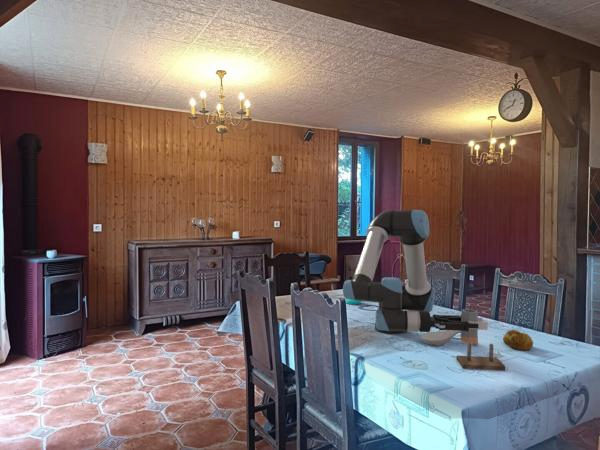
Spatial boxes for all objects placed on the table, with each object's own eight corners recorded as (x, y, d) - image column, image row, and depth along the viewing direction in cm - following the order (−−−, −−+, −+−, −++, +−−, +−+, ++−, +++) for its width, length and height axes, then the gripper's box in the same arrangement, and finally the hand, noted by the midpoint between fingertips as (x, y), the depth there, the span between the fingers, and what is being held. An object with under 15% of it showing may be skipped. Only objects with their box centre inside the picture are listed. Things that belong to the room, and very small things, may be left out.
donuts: (363, 288, 267) (347, 289, 266) (363, 304, 268) (347, 305, 267) (359, 286, 277) (344, 286, 276) (359, 301, 278) (344, 301, 276)
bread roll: (497, 343, 190) (497, 325, 189) (517, 342, 191) (517, 324, 191) (516, 352, 177) (517, 333, 177) (537, 351, 178) (538, 332, 178)
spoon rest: (425, 348, 182) (425, 331, 182) (418, 340, 194) (418, 324, 194) (481, 349, 181) (481, 332, 181) (471, 340, 193) (471, 325, 193)
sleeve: (463, 342, 152) (463, 312, 152) (459, 338, 157) (459, 308, 157) (479, 343, 151) (479, 312, 151) (474, 339, 157) (475, 309, 156)
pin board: (462, 368, 158) (463, 346, 158) (456, 359, 168) (456, 338, 168) (505, 370, 156) (505, 348, 156) (496, 361, 166) (496, 340, 166)
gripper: (414, 325, 166) (477, 327, 163) (422, 338, 148) (492, 341, 145) (414, 305, 165) (477, 307, 163) (422, 317, 147) (493, 319, 145)
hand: (484, 323), depth 154 cm, fingers closed on sleeve, 5 cm apart
